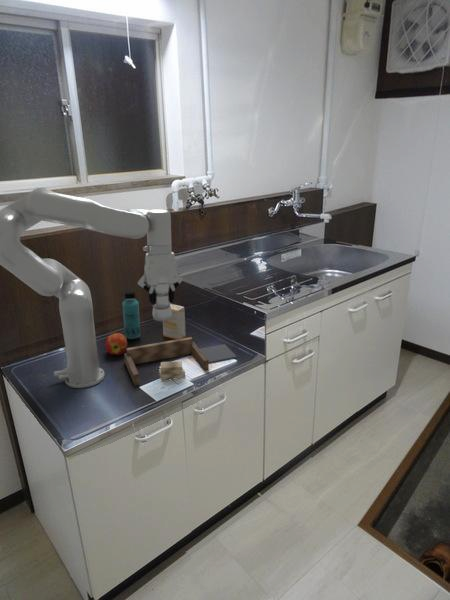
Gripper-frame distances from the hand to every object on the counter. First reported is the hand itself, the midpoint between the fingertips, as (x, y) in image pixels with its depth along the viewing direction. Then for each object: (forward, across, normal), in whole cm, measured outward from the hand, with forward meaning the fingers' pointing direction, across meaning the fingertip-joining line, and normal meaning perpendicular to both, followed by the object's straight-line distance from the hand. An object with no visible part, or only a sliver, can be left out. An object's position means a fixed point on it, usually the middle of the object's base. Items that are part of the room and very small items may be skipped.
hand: (161, 302), depth 140 cm
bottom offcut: (+24, +1, -8) cm, 26 cm away
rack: (+24, 0, -1) cm, 24 cm away
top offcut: (+22, 0, -8) cm, 23 cm away
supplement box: (+24, +10, +22) cm, 34 cm away
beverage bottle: (+24, -6, +26) cm, 36 cm away
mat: (+24, +20, +1) cm, 31 cm away
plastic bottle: (+7, 0, 0) cm, 7 cm away
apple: (+24, -14, +16) cm, 32 cm away
